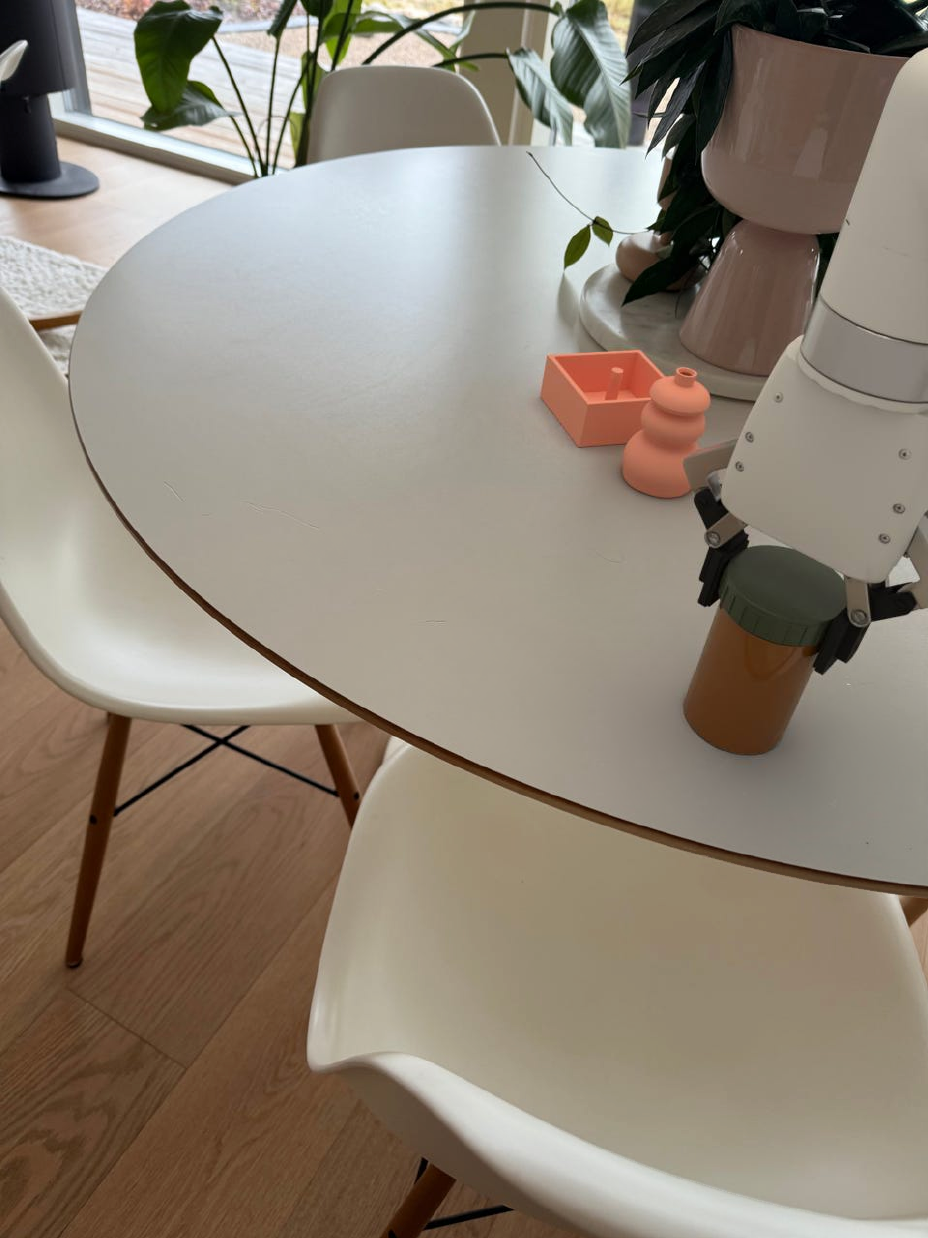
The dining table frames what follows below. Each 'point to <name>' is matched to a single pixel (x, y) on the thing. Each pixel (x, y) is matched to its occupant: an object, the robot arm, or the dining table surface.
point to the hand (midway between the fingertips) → (770, 626)
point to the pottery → (630, 413)
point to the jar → (745, 687)
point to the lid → (781, 595)
